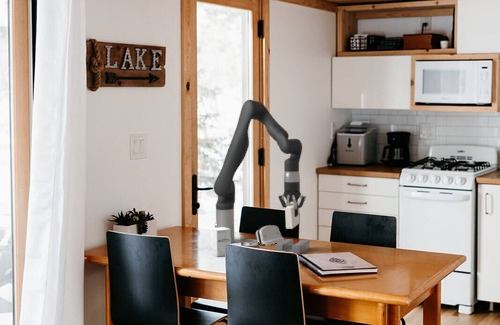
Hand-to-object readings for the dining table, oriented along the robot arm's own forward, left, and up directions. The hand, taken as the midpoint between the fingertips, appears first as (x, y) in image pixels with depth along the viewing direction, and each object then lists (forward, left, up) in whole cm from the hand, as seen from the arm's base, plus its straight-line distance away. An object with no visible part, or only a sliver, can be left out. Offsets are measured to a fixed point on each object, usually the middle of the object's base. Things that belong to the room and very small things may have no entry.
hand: (292, 216), depth 383 cm
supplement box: (-29, -20, -17) cm, 39 cm away
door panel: (0, +1, -5) cm, 5 cm away
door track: (0, 0, -17) cm, 17 cm away
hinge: (-18, +16, -17) cm, 29 cm away
